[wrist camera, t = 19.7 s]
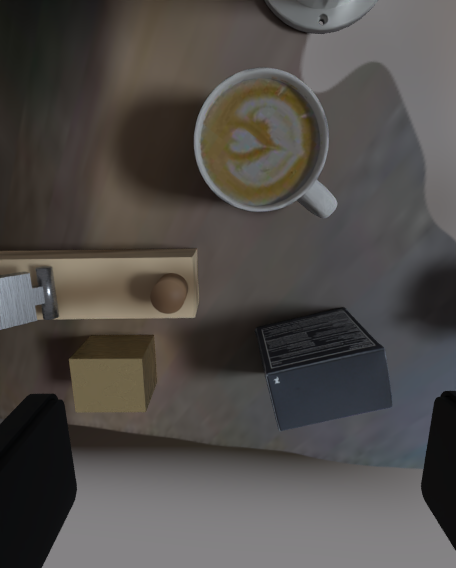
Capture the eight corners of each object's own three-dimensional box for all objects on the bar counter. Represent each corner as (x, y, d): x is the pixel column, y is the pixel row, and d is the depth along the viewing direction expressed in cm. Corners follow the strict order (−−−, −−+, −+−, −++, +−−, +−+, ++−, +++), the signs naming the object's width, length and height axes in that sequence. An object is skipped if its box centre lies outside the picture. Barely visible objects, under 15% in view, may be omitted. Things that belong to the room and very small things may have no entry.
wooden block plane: (-8, 251, 38) (-68, 266, 31) (197, 248, 38) (188, 263, 30) (2, 304, 40) (-53, 332, 32) (198, 301, 40) (191, 329, 32)
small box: (266, 376, 42) (277, 436, 32) (253, 326, 41) (261, 372, 30) (355, 357, 42) (395, 411, 31) (346, 305, 40) (385, 345, 30)
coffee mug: (182, 149, 36) (165, 134, 26) (260, 77, 34) (272, 33, 24) (266, 250, 38) (279, 271, 29) (342, 188, 37) (382, 188, 27)
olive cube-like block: (96, 381, 43) (75, 412, 37) (91, 334, 41) (68, 359, 35) (157, 381, 42) (145, 412, 37) (154, 334, 41) (141, 358, 35)
